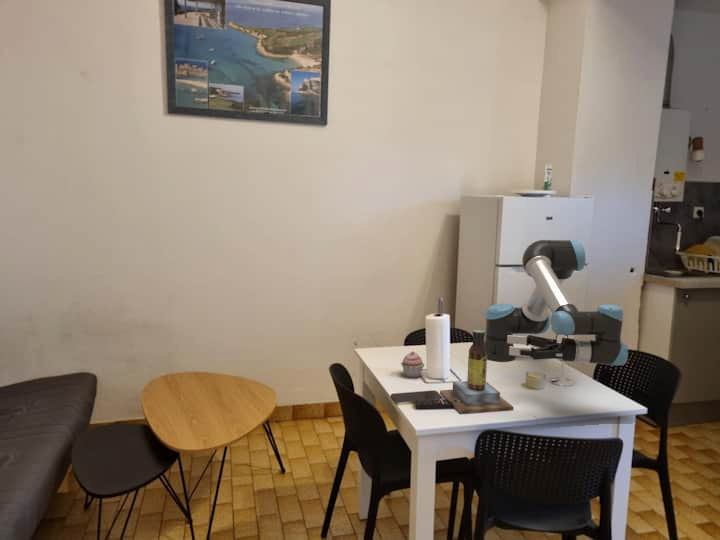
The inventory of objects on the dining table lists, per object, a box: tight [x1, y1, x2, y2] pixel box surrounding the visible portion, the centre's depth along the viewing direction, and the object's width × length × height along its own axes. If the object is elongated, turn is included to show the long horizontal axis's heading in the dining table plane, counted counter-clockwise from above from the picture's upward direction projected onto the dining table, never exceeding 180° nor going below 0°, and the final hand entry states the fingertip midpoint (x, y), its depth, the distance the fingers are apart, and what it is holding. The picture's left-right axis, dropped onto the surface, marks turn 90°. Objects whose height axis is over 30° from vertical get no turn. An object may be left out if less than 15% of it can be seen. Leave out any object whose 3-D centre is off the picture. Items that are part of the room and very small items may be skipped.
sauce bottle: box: [466, 329, 488, 390], centre depth 177 cm, size 7×6×20 cm
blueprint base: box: [439, 380, 514, 415], centre depth 179 cm, size 19×18×5 cm
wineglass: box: [551, 334, 575, 387], centre depth 198 cm, size 8×8×20 cm
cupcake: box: [400, 350, 425, 379], centre depth 203 cm, size 9×9×10 cm
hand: (508, 344), depth 175 cm, fingers open, 13 cm apart
